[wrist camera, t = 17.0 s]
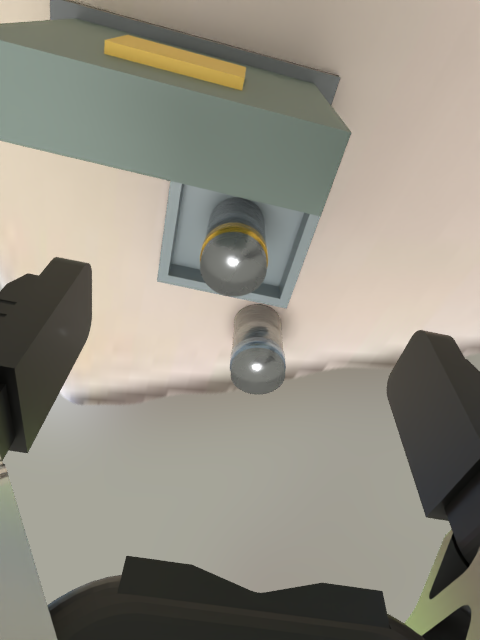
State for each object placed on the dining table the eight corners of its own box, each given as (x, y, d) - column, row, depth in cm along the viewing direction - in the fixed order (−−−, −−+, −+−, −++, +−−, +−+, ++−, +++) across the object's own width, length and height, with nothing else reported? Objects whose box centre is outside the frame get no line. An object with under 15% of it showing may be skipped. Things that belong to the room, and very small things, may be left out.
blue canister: (287, 309, 39) (293, 360, 33) (274, 346, 42) (277, 399, 36) (239, 298, 38) (236, 349, 33) (228, 337, 41) (224, 389, 36)
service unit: (337, 75, 28) (394, 123, 16) (312, 152, 31) (346, 238, 19) (56, -4, 26) (-99, -10, 14) (58, 87, 29) (-69, 141, 17)
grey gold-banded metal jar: (258, 255, 35) (258, 303, 29) (203, 243, 35) (193, 290, 29) (272, 203, 32) (276, 245, 27) (213, 189, 32) (205, 229, 26)
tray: (327, 171, 31) (332, 182, 29) (284, 292, 38) (286, 308, 36) (180, 134, 30) (175, 143, 28) (162, 266, 37) (156, 281, 35)
